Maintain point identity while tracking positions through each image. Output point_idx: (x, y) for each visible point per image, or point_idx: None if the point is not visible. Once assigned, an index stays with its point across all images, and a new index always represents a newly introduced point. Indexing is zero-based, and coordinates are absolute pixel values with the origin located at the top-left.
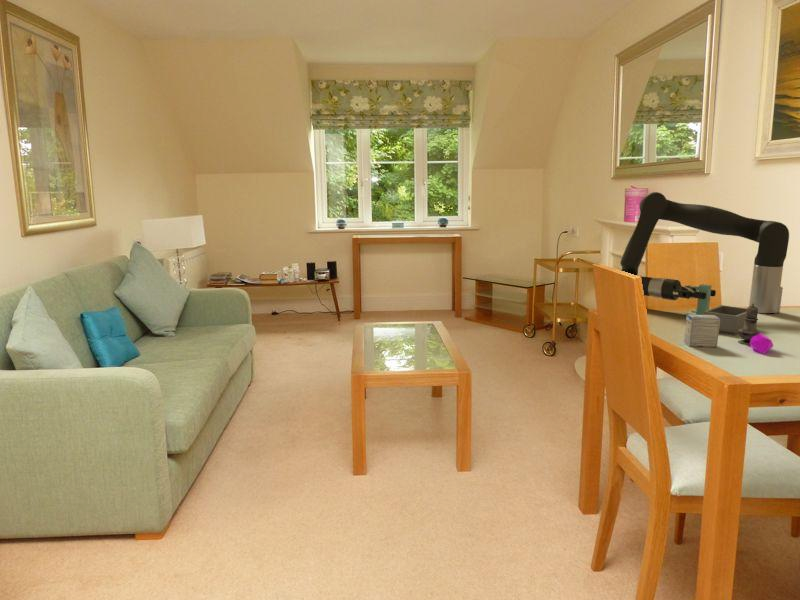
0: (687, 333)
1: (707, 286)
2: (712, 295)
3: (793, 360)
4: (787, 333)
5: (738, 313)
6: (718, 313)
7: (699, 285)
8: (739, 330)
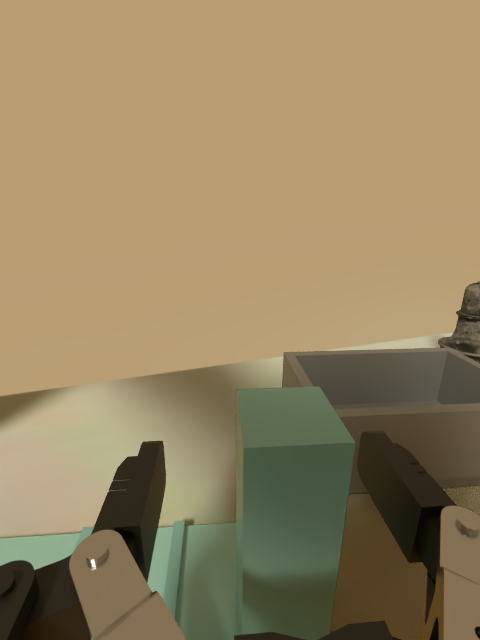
0: None
1: (319, 394)
2: (163, 490)
3: None
4: (264, 364)
5: None
6: None
7: (351, 446)
8: None
